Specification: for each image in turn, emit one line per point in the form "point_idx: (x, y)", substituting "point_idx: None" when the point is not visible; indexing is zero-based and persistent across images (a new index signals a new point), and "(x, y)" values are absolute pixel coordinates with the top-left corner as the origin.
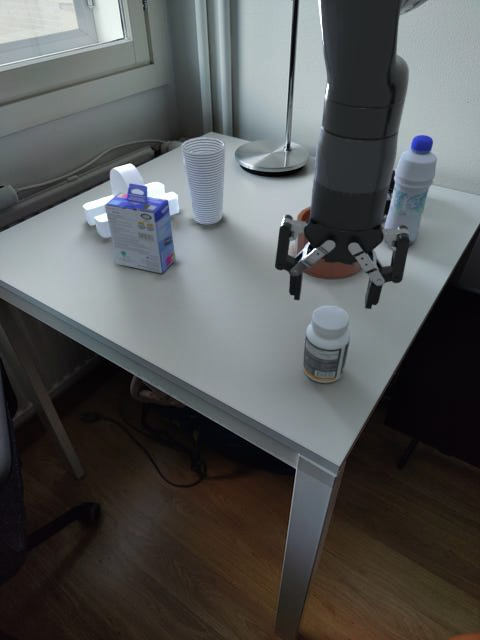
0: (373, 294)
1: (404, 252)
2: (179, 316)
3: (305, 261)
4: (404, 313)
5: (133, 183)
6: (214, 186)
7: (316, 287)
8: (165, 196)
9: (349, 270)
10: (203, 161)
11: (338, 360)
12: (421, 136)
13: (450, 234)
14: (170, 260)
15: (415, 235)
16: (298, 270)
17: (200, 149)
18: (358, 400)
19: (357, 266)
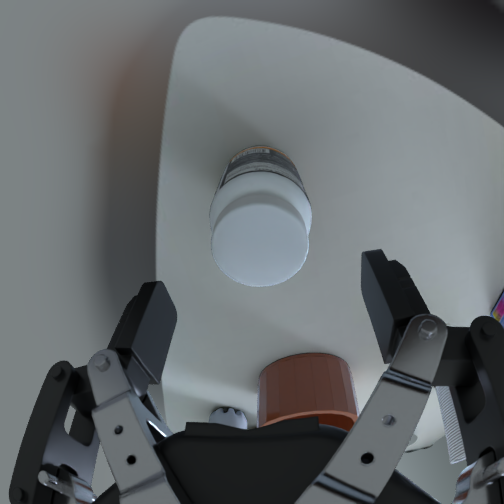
0: (128, 320)
1: (23, 458)
2: (491, 222)
3: (418, 394)
4: (179, 326)
5: None
6: (456, 417)
7: (312, 337)
8: None
9: (271, 372)
10: None
11: (225, 175)
12: None
13: (182, 421)
14: (498, 309)
15: (209, 421)
16: (420, 342)
17: None
18: (182, 136)
19: (262, 379)
